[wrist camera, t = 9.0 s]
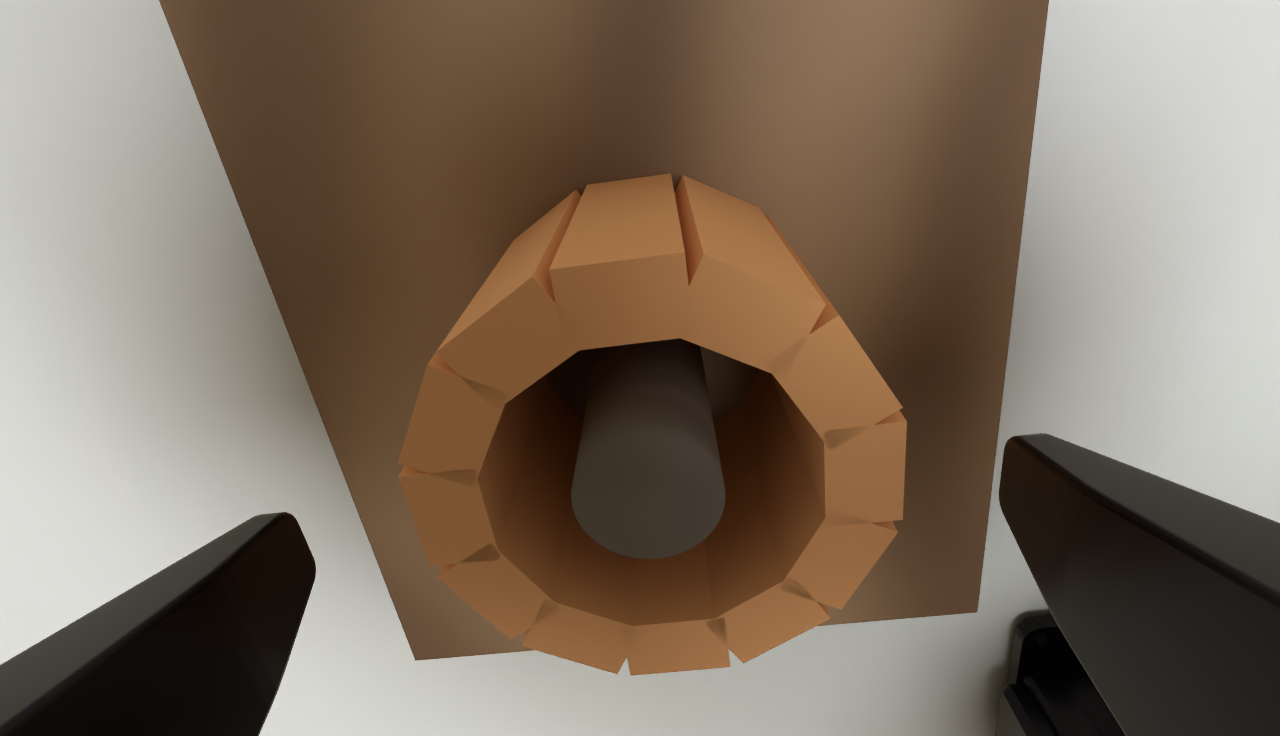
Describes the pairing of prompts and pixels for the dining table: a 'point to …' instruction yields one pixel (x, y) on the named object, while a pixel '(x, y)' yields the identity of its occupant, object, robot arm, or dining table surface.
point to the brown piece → (618, 150)
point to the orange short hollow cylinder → (746, 436)
